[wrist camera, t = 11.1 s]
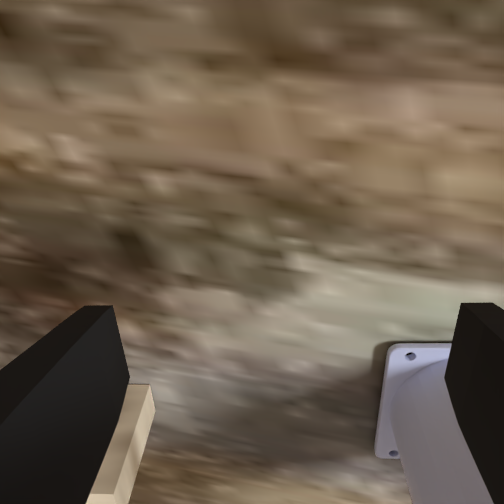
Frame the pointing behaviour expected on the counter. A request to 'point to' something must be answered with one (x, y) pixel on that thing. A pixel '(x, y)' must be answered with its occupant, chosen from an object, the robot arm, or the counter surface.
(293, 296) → the counter surface
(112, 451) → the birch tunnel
